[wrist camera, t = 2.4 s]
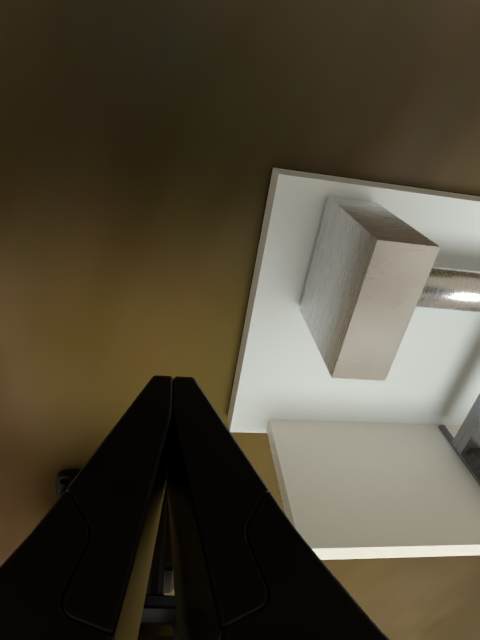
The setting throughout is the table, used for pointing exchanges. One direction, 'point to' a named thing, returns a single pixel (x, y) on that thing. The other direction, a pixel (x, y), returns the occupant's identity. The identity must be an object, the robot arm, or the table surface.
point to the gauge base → (363, 388)
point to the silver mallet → (379, 295)
